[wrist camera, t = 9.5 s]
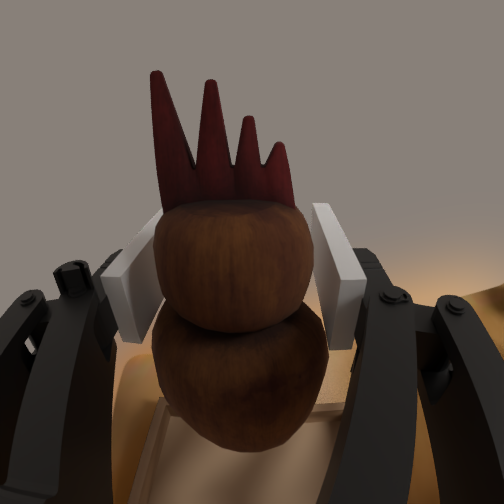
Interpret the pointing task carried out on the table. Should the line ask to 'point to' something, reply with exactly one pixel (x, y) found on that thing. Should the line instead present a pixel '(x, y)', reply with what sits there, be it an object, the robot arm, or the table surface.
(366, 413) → the robot arm
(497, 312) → the table surface
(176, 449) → the tray
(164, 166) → the wooden figurine
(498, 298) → the table surface
